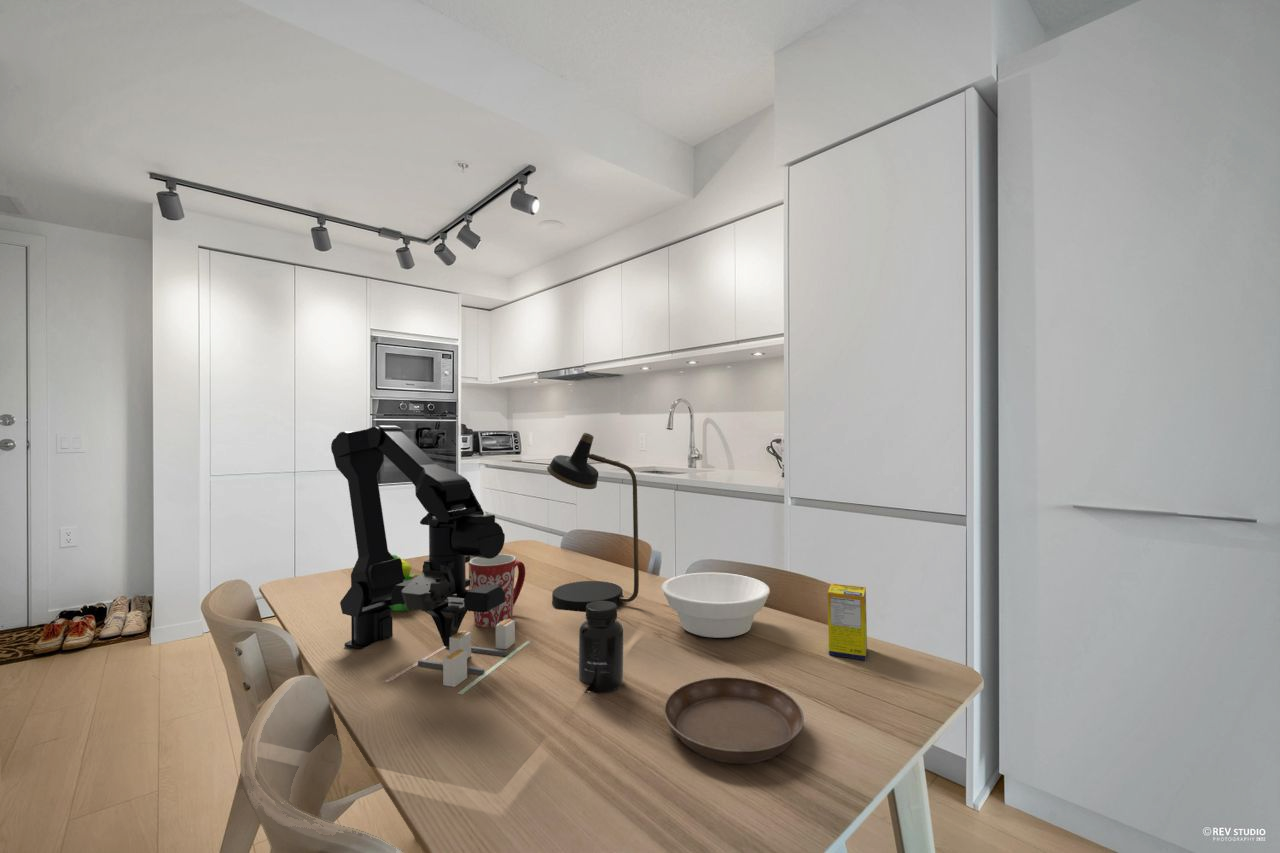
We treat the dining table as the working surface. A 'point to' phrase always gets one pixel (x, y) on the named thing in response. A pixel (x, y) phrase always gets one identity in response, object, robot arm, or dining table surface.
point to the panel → (469, 669)
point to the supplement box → (847, 621)
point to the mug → (502, 575)
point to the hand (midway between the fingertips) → (448, 645)
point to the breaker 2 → (505, 634)
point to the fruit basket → (406, 572)
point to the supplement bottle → (601, 648)
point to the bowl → (715, 602)
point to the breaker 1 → (455, 668)
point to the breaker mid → (461, 642)
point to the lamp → (586, 477)
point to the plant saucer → (734, 719)
